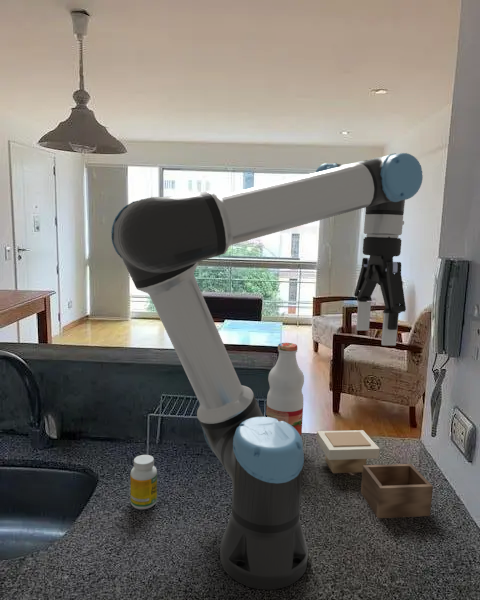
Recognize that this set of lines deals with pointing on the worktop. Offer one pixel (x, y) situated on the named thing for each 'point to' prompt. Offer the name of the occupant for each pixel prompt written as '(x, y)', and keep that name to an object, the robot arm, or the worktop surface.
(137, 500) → the supplement bottle
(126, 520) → the worktop surface
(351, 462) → the block
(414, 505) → the box
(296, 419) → the fruit juice
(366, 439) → the lid
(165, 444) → the worktop surface
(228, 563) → the robot arm
